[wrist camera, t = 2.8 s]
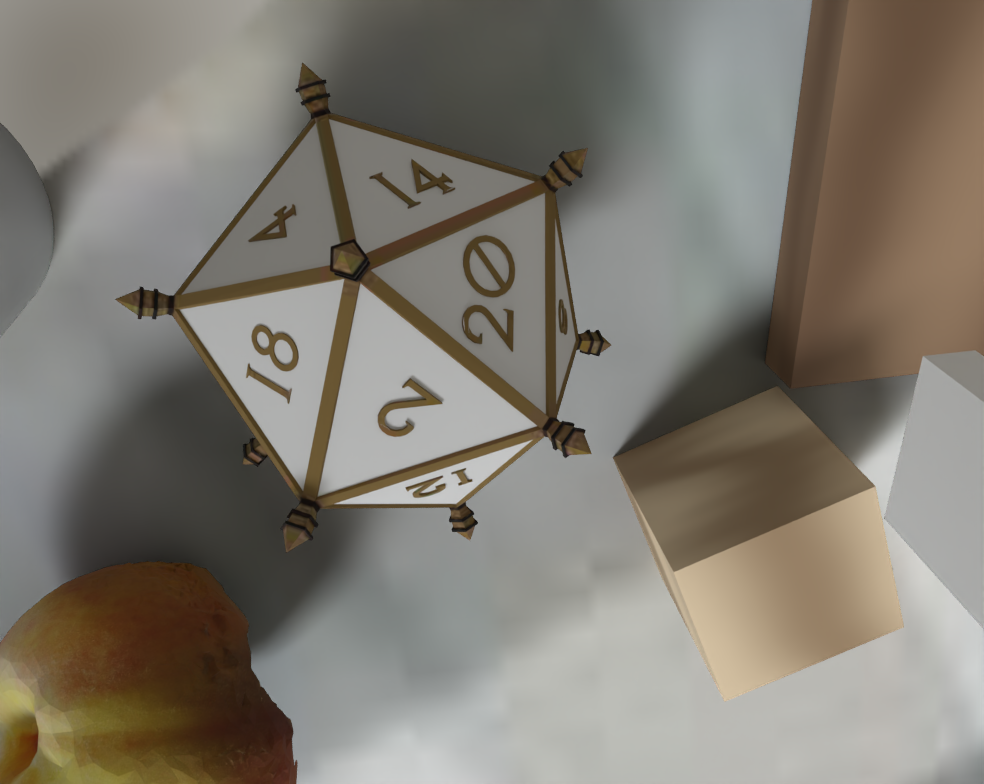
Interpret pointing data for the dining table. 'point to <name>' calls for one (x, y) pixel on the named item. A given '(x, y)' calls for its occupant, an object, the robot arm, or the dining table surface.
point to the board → (883, 194)
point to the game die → (388, 318)
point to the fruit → (137, 686)
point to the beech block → (763, 540)
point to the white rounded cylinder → (21, 230)
